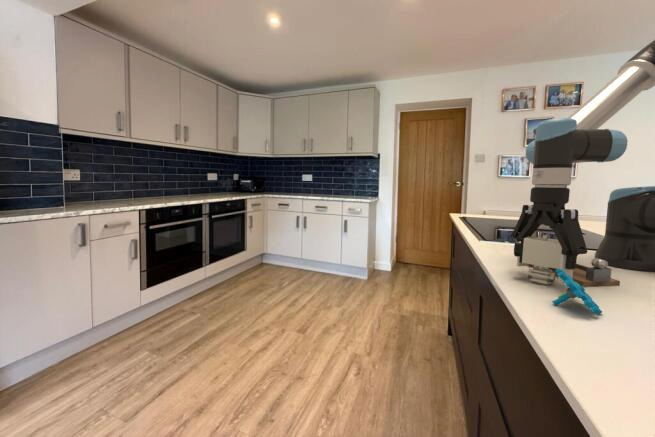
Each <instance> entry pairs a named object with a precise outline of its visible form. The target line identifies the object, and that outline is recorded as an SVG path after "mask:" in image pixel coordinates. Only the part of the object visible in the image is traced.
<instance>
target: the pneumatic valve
mask: <svg viewBox="0 0 655 437" xmlns="http://www.w3.org/2000/svg"><path fill="white" fill-rule="evenodd" d="M569 249H570V248H569ZM563 252H564V251H563V249H562V247H561V245H560V243H559V241H558V239H557V238H548V234H542V237H539V236H538V237H537V236H525V237H523V238H521V240H516V239H515V243H514V246H513V255H514V257H518V259H519V262H520V263H526V264H531V265H534V268H529V269H528V272H527V278H528V279H529V281H530V282H531V283H534V284H538V285H542V286H543V285H544V286H550V284H554V283H555V282H556V277H555V273H552V272H553V271H552V270H551V269H548V268H555V269H559V266H560V257H561V254H562V253H563ZM537 266H539V267H537ZM545 268H546V269H545Z"/></svg>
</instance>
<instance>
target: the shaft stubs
mask: <svg viewBox="0 0 655 437" xmlns="http://www.w3.org/2000/svg"><path fill="white" fill-rule="evenodd" d="M608 266H609V265H608V262H607V261H606V260H602V259H598V258H595V257H594V258H593V259H592V260H591V266H586V267H587V270H586V279H587V280H590V281H592V282H603V281H610V279H611V278H612V270H613V269H612V268H610V267H608Z"/></svg>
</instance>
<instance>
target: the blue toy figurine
mask: <svg viewBox="0 0 655 437" xmlns="http://www.w3.org/2000/svg"><path fill="white" fill-rule="evenodd" d="M556 272H557V273H558V274H557V275H558V276H559V277H560V278H561V279H562V280H563V282H564V283H563V284H564V285H565V286H566V287H567V288H566V289H565V292H564V293H562V294H560V295H558V296H557V298H556V299H554V300H552V303H553V305H554V306H556V307H557V306H559V305H561V304H563V303H564V302H566V301H568V300H570V299H571V300H574V299H575V298H577V299H581V300H582V302H583V305H585V306H586V307H587V308H588V309H590V310H591V311H592V312H593V313H594V314H595V315H600V314H602V313H603V311H602V309H601V308H600V306H599V304H597V303H596V302H595V301H594V299H593V298H592V297H591V296H590V295H589V294H588V293H586V288H585V287H582V286H580V285H579V284H578V283H577V282H574V281H573V279H572V278H571V277H570V276H569V275H567V274H566V273H565V272H564V271H563V270H562V269H557V270H556Z"/></svg>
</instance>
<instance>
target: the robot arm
mask: <svg viewBox="0 0 655 437" xmlns="http://www.w3.org/2000/svg"><path fill="white" fill-rule="evenodd" d="M653 87H655V39H654V40H653V41H651V42H649V44H647V45H646V46H644V47H643V48H642V49H641V50H639V51H638V52H637V53H636V54H634V55H633V56H632V57H630V58H629V59H628V60H627V61H626V62H624V64H623V65H621V66H620V67H619V69H618V71H617V74H616V75H615V76H614V77H613V78H612V79H611V80H609V82H607V83H606V84H605V85H603V87H601V88H600V89H599V90H598V91H597V92H595V94H593V95H592V96H591V97H590V98H588V100H587V101H585V102H584V103H583V104H582V105H580V107H578V108H577V109H576V110H575V111H574V112H573V113H572V114H570V115H569V116H568V117H559V118H551V119H549V118H548V119H545V120H543V121H541V122H539V123H538V124H537V127H536V132H535V138H534V140H532V141H530V143H529V144H528V145H527V146H526V148H525V157H526V159H527V161H528V162H529V163H530V164H532V166H533V167H532V178H531V185H533V187H531V188H530V195H529V196H530V197H529V201H530V202H531V203H533V204H523V205H522V208H521V214H520V216H519V219H518V220H517V222H516V225H515V227H514V229H513V231H512V234H511V237H512V238H515V241H516V240H521V238H523V237H525V236H531V237H533V235H534V233H536V231H537V230H538V229H539V228H540V227H541V226H542V225H543V226H545V227H548V228H550V229H551V230H552V231H553V234H554V235H555V237H556V239H557V240H558V241H559V243H560V245H561V247H562V249H563V251H564V252H563V253H562V254H561V257H560V266H559V269H562V270H563V271H564V272H565V273H566V274H567V275H569V276H570V277H571V278H572V277H573V269H575V268H576V264H577V260H578V256H579V255H586V254H588V248H587V245H586V242H585V239H584V235H583V231H582V228H581V224H580V222H579V210H578V209H576V208H575V209H570V208H569V209H568V208H567V209H566V204H568V203H569V202H570V201H569V200H570V193H571V189H570V188H569V187H568V186H570V185H571V184H572V183H571V182H572V172H573V166H574V164H578V163H579V164H580V163H581V164H582V163H610V162H614V161H617V160H618V159H620V158H621V157H622V156H623V155H624V154H625V152H626V151H627V147H628V137H627V136H626V133H624V132H623V131H620V130H617V129H616V130H615V129H609V128H604V129H603V128H602V129H601V127H602V126H603V125H604V124H606V123H607V122H608V121H609V120H610V119H611V118H613V117H614V116H615V115H616V114H617V113H618V112H620V111H621V110H622V109H624V107H625V106H627V105H628V104H629V103H630V102H631V101H632V100H634V99H635V98H636V97H637V96H638V95H640V93H642V92H644V91H648V90H650V89H652V88H653ZM599 128H600V129H599ZM608 198H609V199H608V201H607V207H606V208H607V210H606V221H605V231H604V232H605V233H604V237H603V239H602V241H601V242H600V244H599V246H598V248H597V250H596V251H595V253H594V258H598V259H602V260H606V261H607V262H608V266H611V267H614V268H615V267H616V268H620V269H627V270H632V271H633V270H634V271H644V272H645V271H646V272H648V271H649V272H655V185H652V186H649V185H648V186H632V187H623V188H621V187H620V188H617V189H616V188H615V189H613V190H612V191H610V194H609V196H608ZM569 248H570V249H569ZM516 266H517V267H528V264H526V263H520V262H519V259H518V257H517V258H516ZM557 278H558V279H557V282H558V283H559V284H565V283H564V282H563V280H562V279H561V278H560V277H559V276H558V277H557Z"/></svg>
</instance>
